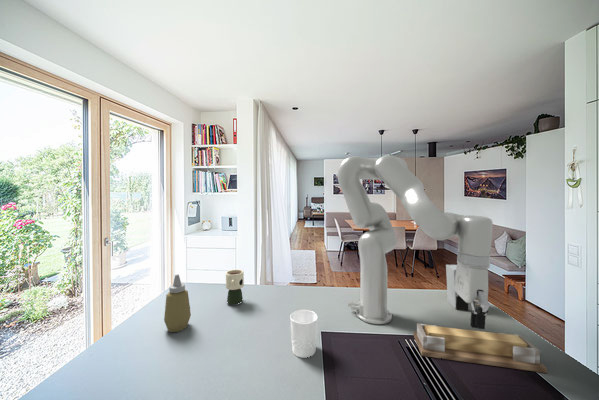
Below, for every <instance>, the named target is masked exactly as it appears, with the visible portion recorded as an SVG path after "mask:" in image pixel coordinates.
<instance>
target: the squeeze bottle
mask: <svg viewBox="0 0 599 400" xmlns="http://www.w3.org/2000/svg"><path fill="white" fill-rule="evenodd" d="M190 305H191V304H190V299H189V291H188V290H186V285H185V283H182V281H181V277H180V274H179V273H178V274H175V275H174V279H173V283H172V284H171V285H170V286H169V292H168V293H166V297H165V308H164V319H163V321H164V324H165V326H166V328H167V331H168V332H171V333H176V332H181V331H183V330H185V329H186V328H187V327H188V325H189V321H190V319H191V316H192V314H191V307H190Z"/></svg>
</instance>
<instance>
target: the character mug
mask: <svg viewBox="0 0 599 400" xmlns="http://www.w3.org/2000/svg"><path fill="white" fill-rule="evenodd" d="M244 275H245V274H244V270H242V269H230V270H227V271H226V272H225V289H227V290H228V292H227V298H226V299H227V301H226V303H227V302H228V303H229V304H228V303H227V304H228V305H232V304H238V303H240V302H242V303H243V300H244V299H243V292H242V288H244V283H245V281H244V280H245V279H244V278H245V277H244ZM242 299H243V300H242ZM238 305H239V304H238Z"/></svg>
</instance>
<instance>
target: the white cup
mask: <svg viewBox="0 0 599 400" xmlns="http://www.w3.org/2000/svg"><path fill="white" fill-rule="evenodd" d="M289 319H290V339H291V347H292V349H291V350H292V354H293V355H295V356H296V357H297V358H301V359H307V357H308V358H310V356H311V357H313V356H314V355H315V354H316V351H317V350H316V347H317V338H318V337H317V336H318V321H319V319H318V314H317V313H316V312H314V311H313V310H309V309H298V310H295V311H293V312H292V313H291V314H290V315H289Z"/></svg>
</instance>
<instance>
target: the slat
mask: <svg viewBox="0 0 599 400" xmlns="http://www.w3.org/2000/svg"><path fill="white" fill-rule="evenodd" d="M428 325H429V324H428ZM428 325H425V334H426V336H435V337H443V338H444V339H445V348H447V349H455V350H462V351H470V352H478V353H486V354H493V355H501V356H509V357H513V346H518V347H526V348H527V343H525V342H524V341H523V340H522V339H521V338H520V337H519V336H518V335H519V334H518V335H509V334H510V333H509V334H500V333H501V332H500V333H499V332H498V333H497V332H490V331H489V332H488V331H482V330H481V331H480V330H472V329H462V328H454V327H446V326H437V325H436V326H428Z"/></svg>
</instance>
